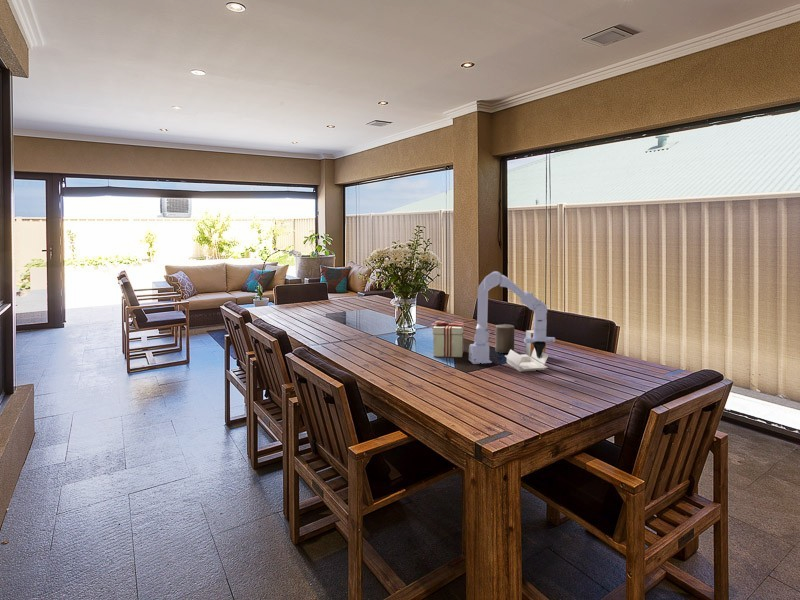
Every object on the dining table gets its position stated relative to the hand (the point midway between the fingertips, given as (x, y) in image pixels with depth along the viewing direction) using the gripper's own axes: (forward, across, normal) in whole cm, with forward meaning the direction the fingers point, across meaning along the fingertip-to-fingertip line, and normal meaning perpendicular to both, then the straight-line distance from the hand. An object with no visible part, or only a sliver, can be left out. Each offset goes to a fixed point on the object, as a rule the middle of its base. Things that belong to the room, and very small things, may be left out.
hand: (538, 357), depth 220 cm
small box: (+4, +5, +15) cm, 17 cm away
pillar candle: (+4, -6, +28) cm, 29 cm away
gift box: (+4, -36, +31) cm, 48 cm away
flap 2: (-1, 0, 0) cm, 1 cm away
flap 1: (0, -12, 0) cm, 12 cm away
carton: (+4, -7, 0) cm, 8 cm away
